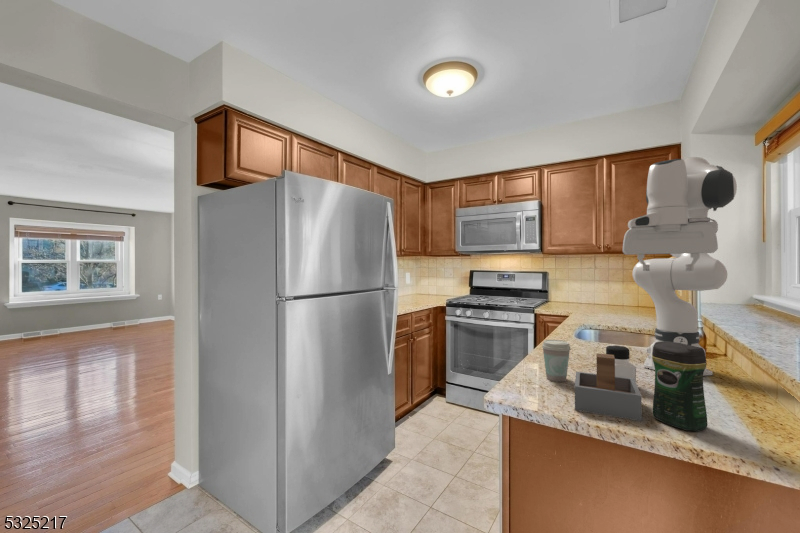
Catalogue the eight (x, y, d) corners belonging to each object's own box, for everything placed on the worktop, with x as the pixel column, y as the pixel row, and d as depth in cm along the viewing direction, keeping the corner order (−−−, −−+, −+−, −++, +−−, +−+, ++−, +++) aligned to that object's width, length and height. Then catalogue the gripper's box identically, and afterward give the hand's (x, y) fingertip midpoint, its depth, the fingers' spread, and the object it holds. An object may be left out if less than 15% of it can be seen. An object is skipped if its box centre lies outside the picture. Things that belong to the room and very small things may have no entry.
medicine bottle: (636, 390, 101) (636, 349, 101) (609, 388, 103) (609, 348, 103) (625, 382, 108) (625, 344, 108) (600, 381, 110) (600, 343, 110)
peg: (596, 401, 93) (596, 353, 93) (614, 404, 91) (613, 354, 91) (597, 406, 90) (596, 356, 90) (615, 409, 88) (614, 358, 88)
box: (576, 392, 100) (576, 371, 100) (634, 400, 93) (634, 378, 93) (574, 409, 88) (574, 386, 88) (641, 421, 81) (641, 395, 81)
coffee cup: (543, 381, 109) (542, 344, 109) (541, 373, 117) (541, 338, 117) (572, 384, 106) (572, 345, 106) (569, 376, 114) (568, 340, 114)
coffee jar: (714, 429, 77) (714, 346, 77) (690, 435, 74) (689, 349, 74) (668, 412, 86) (668, 337, 86) (645, 416, 84) (645, 340, 84)
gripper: (713, 218, 91) (713, 270, 91) (621, 223, 101) (621, 270, 101) (722, 215, 85) (722, 271, 85) (623, 220, 95) (624, 271, 95)
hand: (667, 271), depth 93 cm, fingers open, 8 cm apart
